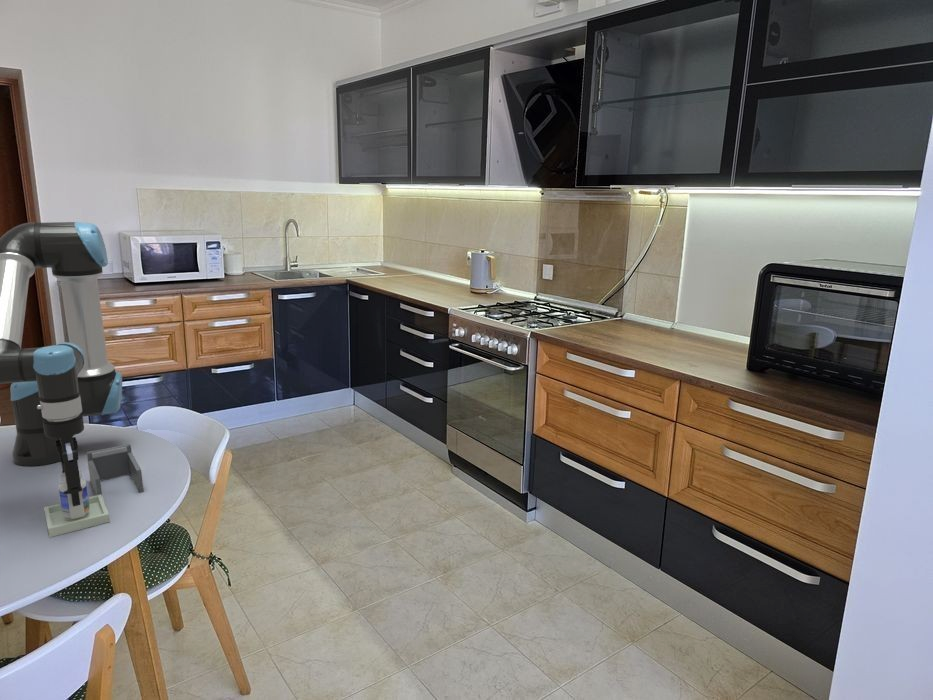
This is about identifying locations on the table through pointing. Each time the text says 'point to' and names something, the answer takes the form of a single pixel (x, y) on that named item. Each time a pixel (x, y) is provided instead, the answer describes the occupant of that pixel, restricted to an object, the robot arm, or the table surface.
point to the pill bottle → (65, 498)
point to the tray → (64, 525)
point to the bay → (113, 466)
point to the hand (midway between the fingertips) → (76, 511)
